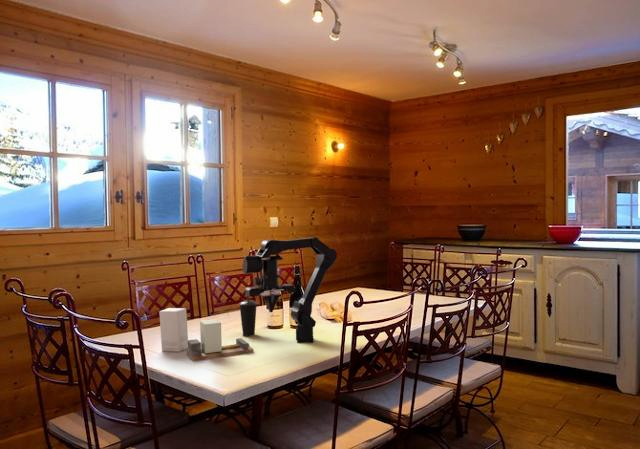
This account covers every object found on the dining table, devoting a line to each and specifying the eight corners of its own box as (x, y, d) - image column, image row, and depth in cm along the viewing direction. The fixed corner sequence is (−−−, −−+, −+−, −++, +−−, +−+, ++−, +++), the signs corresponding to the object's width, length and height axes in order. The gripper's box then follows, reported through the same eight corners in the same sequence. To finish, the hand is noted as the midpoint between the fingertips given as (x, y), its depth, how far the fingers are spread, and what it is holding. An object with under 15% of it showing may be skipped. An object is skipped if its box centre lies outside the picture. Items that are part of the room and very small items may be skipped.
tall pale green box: (216, 346, 196) (216, 319, 195) (221, 351, 189) (221, 322, 189) (200, 349, 193) (200, 320, 193) (205, 353, 187) (204, 324, 186)
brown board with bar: (245, 345, 202) (244, 331, 202) (253, 352, 193) (253, 337, 193) (186, 354, 192) (186, 339, 192) (192, 361, 183) (192, 345, 183)
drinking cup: (254, 337, 215) (253, 289, 214) (237, 337, 217) (235, 289, 216) (260, 333, 223) (259, 286, 222) (243, 332, 224) (242, 286, 223)
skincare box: (189, 348, 201) (187, 308, 200) (179, 352, 195) (177, 311, 194) (170, 346, 204) (169, 307, 203) (160, 351, 197) (158, 310, 197)
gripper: (284, 268, 212) (285, 306, 213) (240, 271, 204) (241, 311, 204) (295, 271, 202) (296, 311, 203) (249, 274, 194) (250, 316, 195)
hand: (270, 312), depth 201 cm, fingers closed
